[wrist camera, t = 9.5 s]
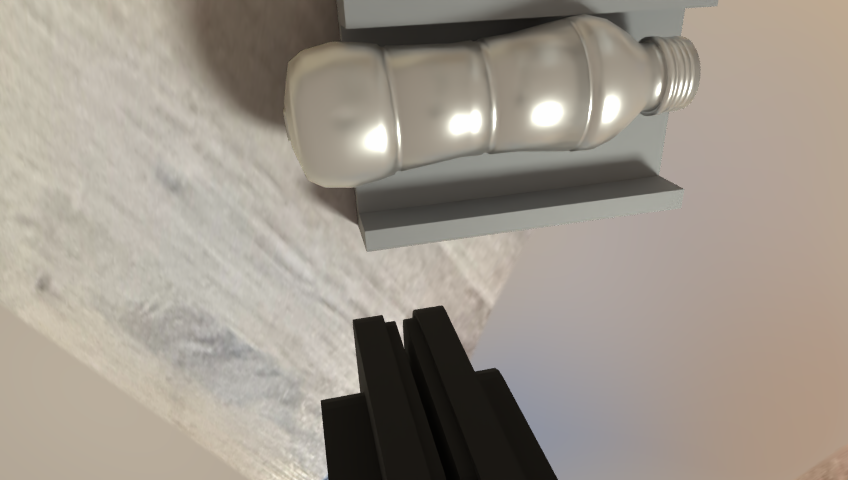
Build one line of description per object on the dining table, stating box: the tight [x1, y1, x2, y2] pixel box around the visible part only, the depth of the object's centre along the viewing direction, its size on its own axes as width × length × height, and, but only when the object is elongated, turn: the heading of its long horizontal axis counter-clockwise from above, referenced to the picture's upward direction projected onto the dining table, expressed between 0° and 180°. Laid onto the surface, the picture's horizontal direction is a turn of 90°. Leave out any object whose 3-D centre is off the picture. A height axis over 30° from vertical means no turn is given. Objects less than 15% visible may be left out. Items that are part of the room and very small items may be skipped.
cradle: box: [336, 0, 718, 252], centre depth 31 cm, size 12×19×4 cm, turn 92°
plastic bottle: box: [283, 14, 700, 188], centre depth 27 cm, size 6×7×20 cm
